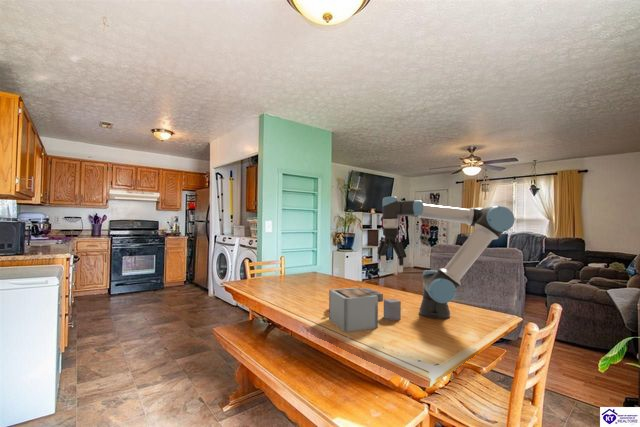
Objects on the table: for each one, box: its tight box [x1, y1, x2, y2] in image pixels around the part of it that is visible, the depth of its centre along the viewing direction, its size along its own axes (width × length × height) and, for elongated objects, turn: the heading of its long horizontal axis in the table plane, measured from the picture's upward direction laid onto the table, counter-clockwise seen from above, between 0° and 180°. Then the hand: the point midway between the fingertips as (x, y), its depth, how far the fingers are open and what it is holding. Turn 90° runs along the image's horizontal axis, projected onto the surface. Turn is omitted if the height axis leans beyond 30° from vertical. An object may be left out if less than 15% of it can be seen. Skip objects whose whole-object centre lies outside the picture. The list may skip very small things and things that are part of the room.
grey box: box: [328, 287, 379, 333], centre depth 143 cm, size 16×18×14 cm
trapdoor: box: [338, 287, 384, 303], centre depth 144 cm, size 18×14×4 cm
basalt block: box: [383, 298, 402, 322], centre depth 151 cm, size 6×6×9 cm
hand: (391, 270), depth 149 cm, fingers open, 13 cm apart
